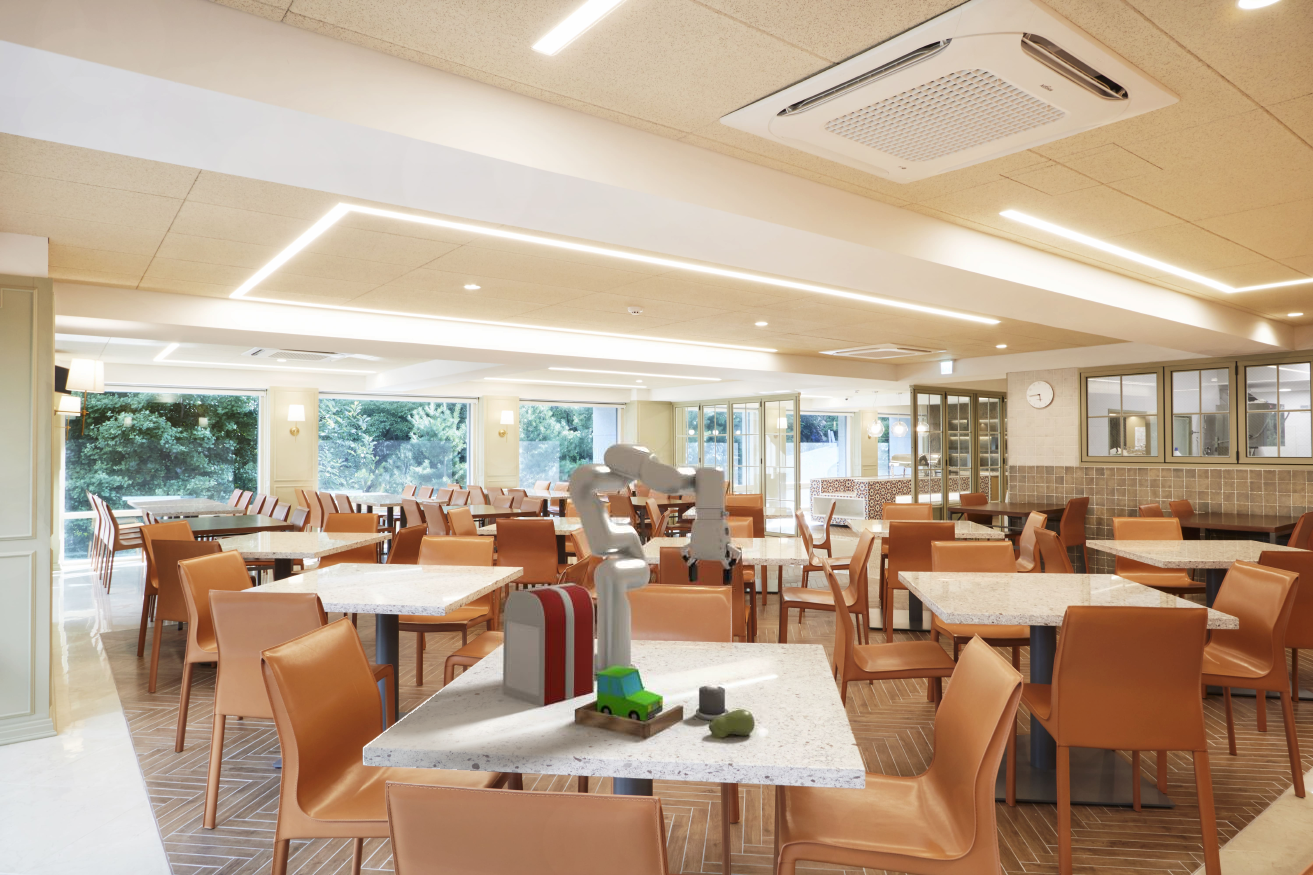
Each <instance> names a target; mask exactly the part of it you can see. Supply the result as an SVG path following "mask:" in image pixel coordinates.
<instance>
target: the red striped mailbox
mask: <svg viewBox="0 0 1313 875" xmlns="http://www.w3.org/2000/svg"><path fill="white" fill-rule="evenodd" d="M595 619H596V618H595V605H594V600H593V598H592V595H591V593H590V591H589V590H588V589H587V588H586V587H583V586H580V585H578V584H577V583H573V582H569V583H562V584H554V585H541V586H535V587H534V588H526V589H525V588H524V589H519V590H518V589H517V590H513V591H512V592H510V593H509V595H508V597H507V599H506V601H505V604H504V611H503V649H502V650H503V652H502V653H503V654H502V655H503V658H502V659H503V661H502V662H503V663H502V668H503V669H502V672H503V673H502V674H503V675H502V694H503V695H505V696H508V697H511V698H513V699H516V700H519V701H522V702H524V703H528V704H531V705H534V706H537V707H540V708H541V707H546V706H551V705H553V704H558V703H561V702H565V701H569V700H574V699H575V698H579V697H584V696H586V695H590V694H593V693H595V674H594V653H595V629H596V628H595V627H596V626H595V625H596V624H595V622H596V621H595Z"/></svg>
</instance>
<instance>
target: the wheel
mask: <svg viewBox="0 0 1313 875" xmlns="http://www.w3.org/2000/svg"><path fill="white" fill-rule="evenodd" d="M698 708H699V712H700V713H702V714H705V715H720V714H723V713H725V709H726V689H725V688H724V687H722V686H717V685H714V684H711V685H705V686H701V687H699V688H698Z"/></svg>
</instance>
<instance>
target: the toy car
mask: <svg viewBox="0 0 1313 875" xmlns="http://www.w3.org/2000/svg"><path fill="white" fill-rule="evenodd" d="M596 683H597V684H596V700H597V712H600V713H604V714H609V715H614V716H619V717H624V718H629V719H633V720H638V721H644V722H646V721H648V720H650V719H652V718H654V716H655V717H656V716H657V715H658V714H660V713H663V711H664V710H663V709H664V708H663V705H664V704H663V700H664V699H663V696H662V695H660V694H657V693H655V692H652V691H649V690H647V689H646V686H643V682H642V678H641V675H640V671H639V668H636V669H634V668H628V667H621V666H614V667H612V668H609V669H607V670H604V671H602V672H599V673H597V675H596Z"/></svg>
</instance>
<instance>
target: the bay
mask: <svg viewBox="0 0 1313 875" xmlns="http://www.w3.org/2000/svg"><path fill="white" fill-rule="evenodd" d="M683 720H684V705H677V706H674V707H672V708H670V709H669V710H667V711H665V712H661V714H660V713H659V715H658V714H657V715H655V717H654V716H653V717H651V718H649V719H647V720H646V721H644V720H641V721H638V720H633V719H629V718H626V717H621V716H615V715H609V714H604V713H600V712H597V699H596V700H594V701H591V702H588V703H586V704H585V705H582V706H580V707H577V708H574V724H577V725H582V726H587V727H591V728H596V729H601V730H606V731H610V732H614V733H618V734H623V735H627V736H632V737H636V738H642V739H645V740H647V739H649V738H651V737H654V736H655V735H657V734H659V733H661V732H662V731H664V730H666V729H668V728H670V727H672V726H674V725H676V724H678V723H679V722H682V721H683Z"/></svg>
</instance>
